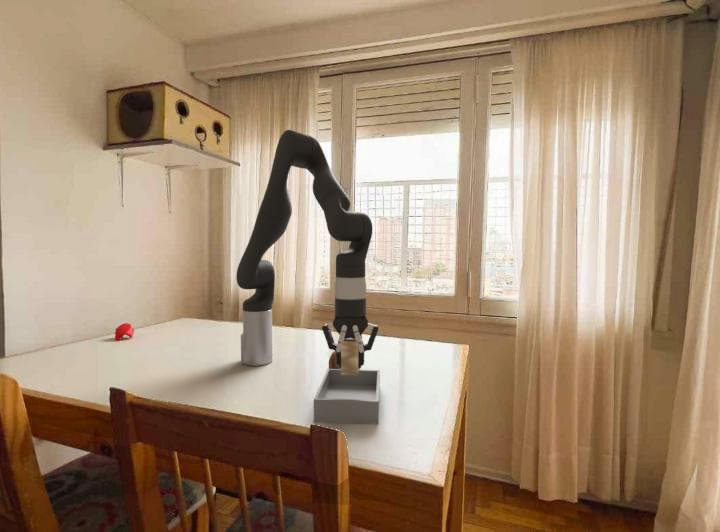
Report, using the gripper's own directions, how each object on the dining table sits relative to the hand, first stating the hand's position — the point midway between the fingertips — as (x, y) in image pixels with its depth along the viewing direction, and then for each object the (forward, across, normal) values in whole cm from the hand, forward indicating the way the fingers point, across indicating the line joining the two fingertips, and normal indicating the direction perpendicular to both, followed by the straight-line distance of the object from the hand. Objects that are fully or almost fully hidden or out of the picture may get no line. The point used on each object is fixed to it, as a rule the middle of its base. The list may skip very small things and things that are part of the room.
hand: (350, 366), depth 91 cm
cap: (+9, -97, +55) cm, 112 cm away
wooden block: (+1, 0, 0) cm, 1 cm away
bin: (+9, 0, 0) cm, 9 cm away
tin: (+9, -3, +20) cm, 22 cm away
